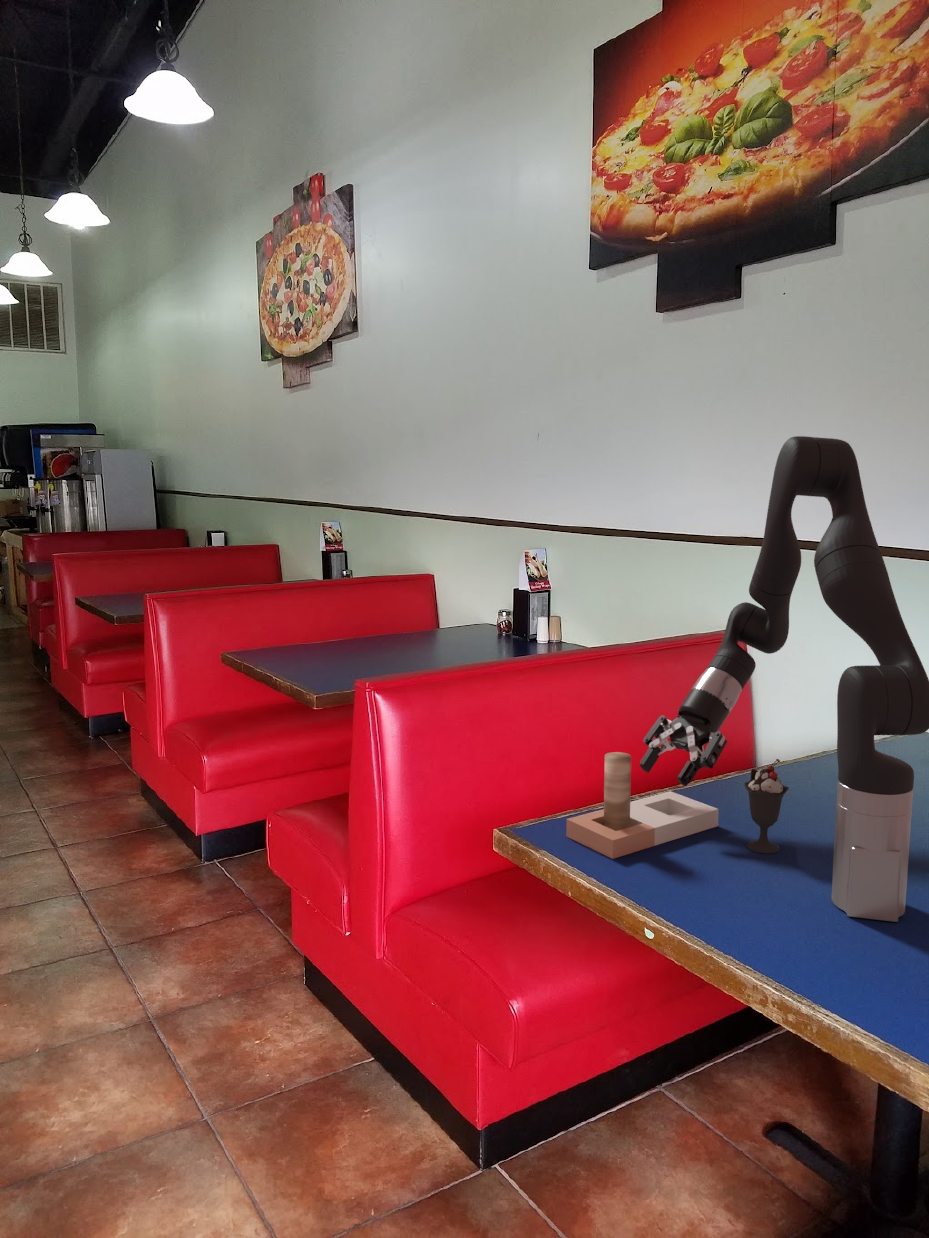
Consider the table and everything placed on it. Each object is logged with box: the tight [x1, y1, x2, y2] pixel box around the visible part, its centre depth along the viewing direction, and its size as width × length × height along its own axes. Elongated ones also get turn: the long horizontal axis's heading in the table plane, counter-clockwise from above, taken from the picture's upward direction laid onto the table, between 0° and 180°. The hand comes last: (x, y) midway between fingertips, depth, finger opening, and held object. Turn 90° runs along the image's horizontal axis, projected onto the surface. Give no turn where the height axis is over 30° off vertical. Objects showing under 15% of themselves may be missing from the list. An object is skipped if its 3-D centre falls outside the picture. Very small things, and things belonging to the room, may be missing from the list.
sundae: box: [743, 758, 789, 855], centre depth 142 cm, size 7×7×15 cm
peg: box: [603, 751, 632, 831], centre depth 146 cm, size 4×4×14 cm
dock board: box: [565, 790, 720, 860], centre depth 150 cm, size 24×11×3 cm, turn 124°
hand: (662, 776), depth 151 cm, fingers open, 8 cm apart
